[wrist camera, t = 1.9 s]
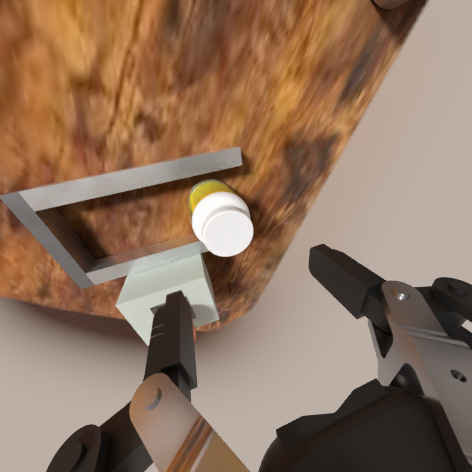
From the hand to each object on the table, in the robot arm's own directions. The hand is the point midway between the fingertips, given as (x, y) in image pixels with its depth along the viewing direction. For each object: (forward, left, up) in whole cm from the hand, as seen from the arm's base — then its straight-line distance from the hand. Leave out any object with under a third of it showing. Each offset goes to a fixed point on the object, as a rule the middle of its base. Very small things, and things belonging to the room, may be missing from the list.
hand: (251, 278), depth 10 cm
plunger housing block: (+8, +11, -17) cm, 22 cm away
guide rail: (+6, 0, -17) cm, 18 cm away
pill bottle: (0, 0, -17) cm, 17 cm away
